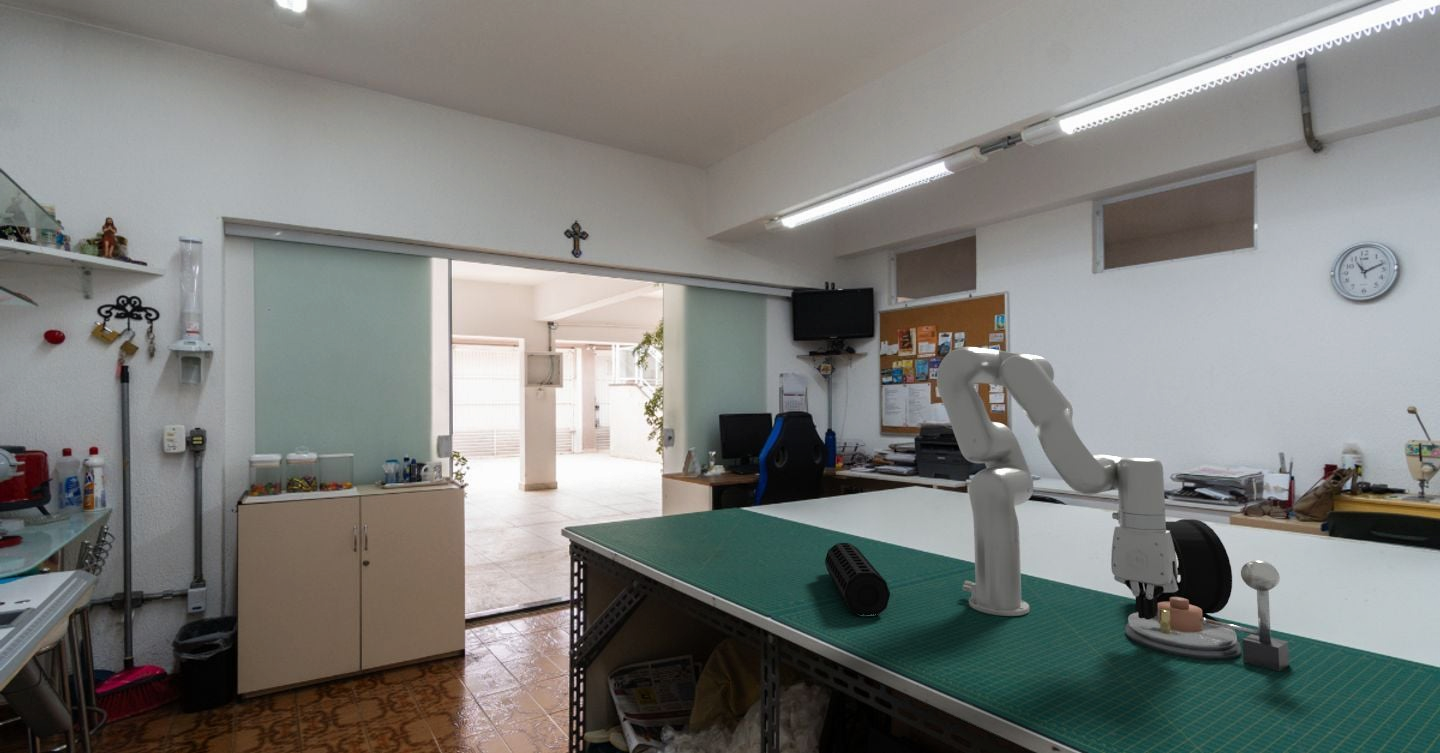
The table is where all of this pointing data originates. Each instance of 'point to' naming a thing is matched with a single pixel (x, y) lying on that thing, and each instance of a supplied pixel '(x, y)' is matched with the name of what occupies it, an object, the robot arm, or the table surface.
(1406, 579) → the table surface
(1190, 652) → the turntable base
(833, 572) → the roller
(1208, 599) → the car wheel rim
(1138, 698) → the table surface
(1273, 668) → the metal lever
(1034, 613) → the table surface
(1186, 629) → the cover
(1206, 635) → the disc
